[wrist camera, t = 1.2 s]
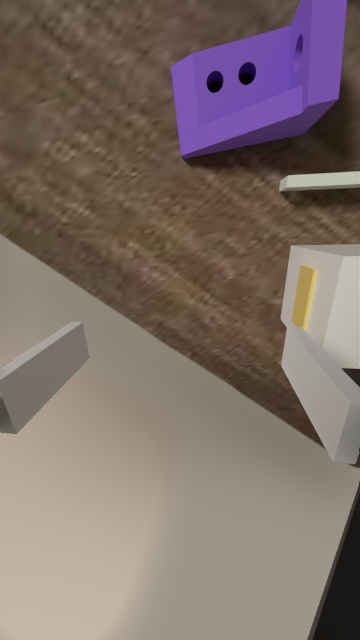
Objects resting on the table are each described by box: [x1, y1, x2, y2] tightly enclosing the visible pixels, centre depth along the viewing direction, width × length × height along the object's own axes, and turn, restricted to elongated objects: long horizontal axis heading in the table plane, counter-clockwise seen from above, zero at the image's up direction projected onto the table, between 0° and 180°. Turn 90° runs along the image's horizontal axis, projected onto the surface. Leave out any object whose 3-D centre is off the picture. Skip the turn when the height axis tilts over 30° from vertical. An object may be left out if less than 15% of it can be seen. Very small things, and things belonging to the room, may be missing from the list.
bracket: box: [171, 0, 347, 159], centre depth 19 cm, size 12×7×7 cm, turn 98°
